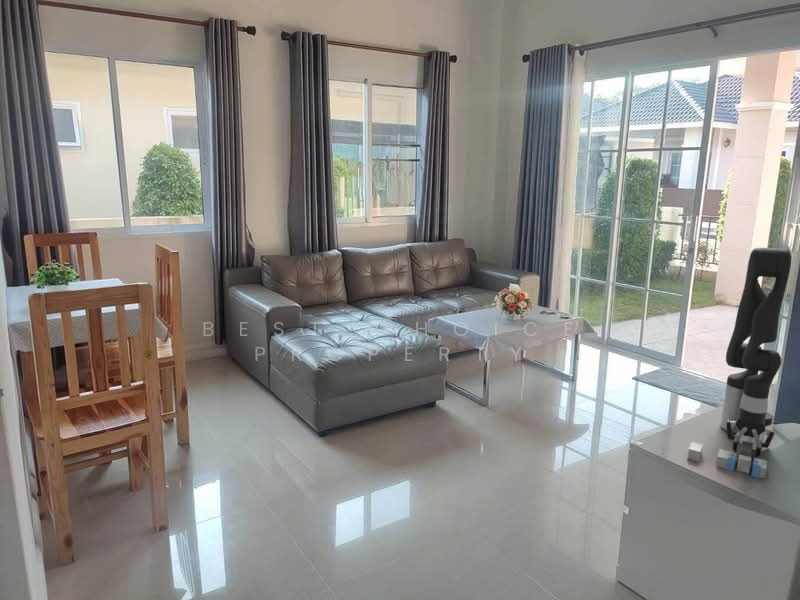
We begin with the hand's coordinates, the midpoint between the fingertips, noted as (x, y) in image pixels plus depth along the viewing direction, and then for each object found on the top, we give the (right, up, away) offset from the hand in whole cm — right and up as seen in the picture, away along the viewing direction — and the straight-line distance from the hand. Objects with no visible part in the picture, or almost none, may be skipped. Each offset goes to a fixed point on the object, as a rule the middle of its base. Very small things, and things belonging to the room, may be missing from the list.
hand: (745, 453), depth 191 cm
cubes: (-8, -3, -3) cm, 9 cm away
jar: (+9, 0, +10) cm, 13 cm away
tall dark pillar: (-1, -2, -1) cm, 3 cm away
